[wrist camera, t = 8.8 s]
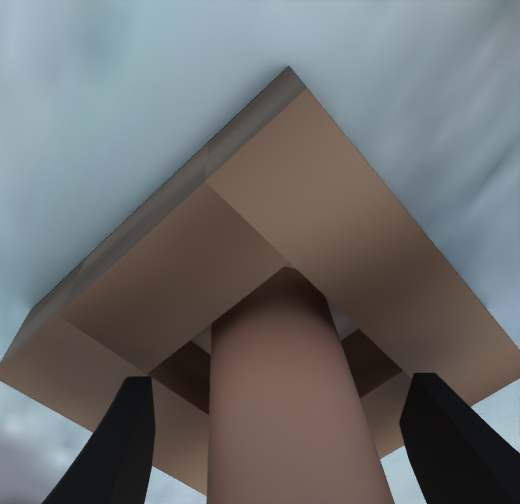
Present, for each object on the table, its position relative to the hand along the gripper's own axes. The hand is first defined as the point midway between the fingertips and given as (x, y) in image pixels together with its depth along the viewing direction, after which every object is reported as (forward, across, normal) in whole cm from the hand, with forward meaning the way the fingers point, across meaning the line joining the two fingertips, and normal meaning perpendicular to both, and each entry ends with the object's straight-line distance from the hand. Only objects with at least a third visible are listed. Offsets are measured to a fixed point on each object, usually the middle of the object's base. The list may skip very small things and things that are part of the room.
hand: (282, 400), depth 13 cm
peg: (+4, 0, 0) cm, 4 cm away
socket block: (+4, 0, 0) cm, 4 cm away
